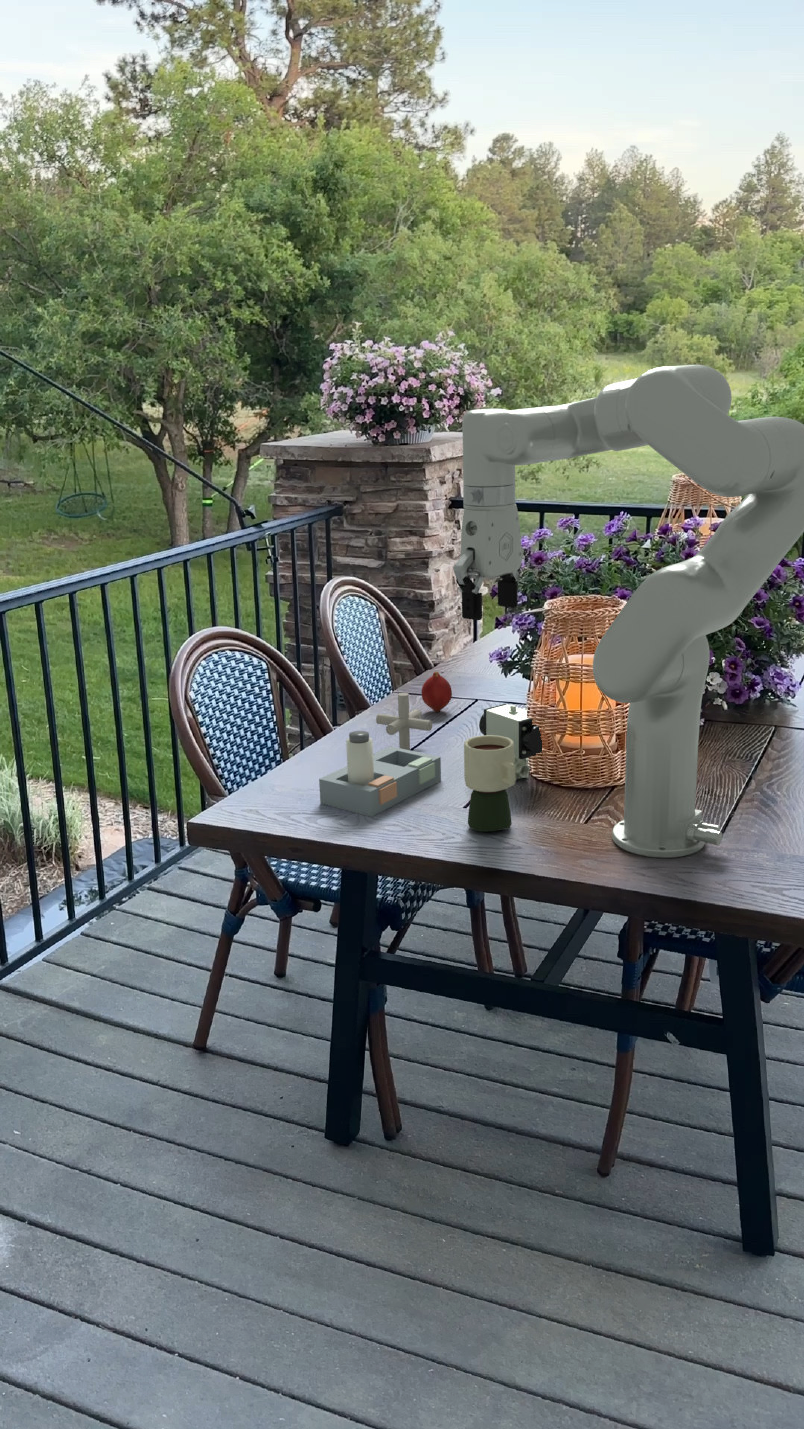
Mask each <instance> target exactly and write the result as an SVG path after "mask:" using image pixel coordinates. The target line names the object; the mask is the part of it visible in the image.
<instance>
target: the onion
mask: <svg viewBox="0 0 804 1429" xmlns="http://www.w3.org/2000/svg"><path fill="white" fill-rule="evenodd" d="M452 696H453V692H452V686H451V684H450V682H449V681H448V680H447V679H446V678H445V677H443V676H442V675H441V674H440V672H439V671H434V672H433V673H432V676H429V677H428V678H427V679H426V680H425V681H424V683H423V684H422V687H421V699H422V701H423V703H424V704H425V705H426V706H427V707H428V708H430V709H431V710H432V711H434V712H435V713H439V712H441V711H442V710H443V709H444V708H446V707H447V706H448V705H449V703H450V702H451V700H452V698H453V697H452Z"/></svg>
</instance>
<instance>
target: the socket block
mask: <svg viewBox="0 0 804 1429" xmlns="http://www.w3.org/2000/svg"><path fill="white" fill-rule="evenodd" d="M441 758H442V757H441V756H439V755H438V756H437V755H432V754H428V753H424V752H419V751H414V750H411V749H410V750H406V749H401V748H399V747H396V746H391V745H390V746H388V747H386V748H384V749H382V750H379V751H377V752H376V753H373V763H374V781H372V782H369V783H368V785H366V786H360V785H356V784H352V783H348V770H347V765H346V766H344V767H341V768H340V769H337V770H336V771H334V772H331V773H329V774H327V775H324V776H322V777H319V779H318V782H319V784H318V785H319V786H318V787H319V799H320V800H319V801H320V804H322V805H326V806H329V807H333V808H337V809H340V810H344V811H348V812H352V813H355V814H360V815H363V816H367V817H371V818H372V817H374V816H376V815H378V814H380V813H382V812H384V811H385V810H387V809H389V808H392V807H393V806H395V805H397V804H399V803H400V802H403V801H405V800H406V799H409V798H411V797H412V796H414V795H416V794H418V793H420V792H422V791H424V790H426V789H427V788H430V787H431V786H433V785H435V784H437V783H439V782H441V781H442V770H441V769H442V767H441V766H442V765H441V764H442V763H441V762H442V761H441Z"/></svg>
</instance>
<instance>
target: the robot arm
mask: <svg viewBox="0 0 804 1429" xmlns="http://www.w3.org/2000/svg"><path fill="white" fill-rule="evenodd" d="M732 399H733V396H732V390H731V387H730V384H729V382H728V381H727V379H726V377H725V376H724V375H723V374H722V373H721V372H720V371H719V370H717V369H716V368H713V367H710V366H708V365H702V364H685V365H683V364H682V365H668V366H659V367H654V368H652V369H649V370H647V371H646V372H644V373H642V374H641V375H640V376H638V377H637V378H634V379H633V378H632V379H627V380H623V381H619V382H613V383H611V384H608V385H606V386H604V387H603V388H602V389H601V390H600V392H599V393H598V395H597V396H595V397H592V398H587V399H584V400H579V401H575V402H570V403H565V404H560V405H559V404H558V405H549V406H538V407H537V406H536V407H527V408H519V409H511V410H509V409H506V408H505V409H504V408H478V409H471V410H468V411H467V412H465V413H464V415H463V418H462V424H461V425H462V427H461V429H462V430H461V432H462V476H463V477H462V478H463V479H462V481H463V485H462V486H463V488H462V491H463V492H462V494H463V500H462V501H463V508H464V509H463V514H462V522H461V531H460V532H461V535H460V557H459V559H458V560H457V561H456V563H454V565H453V568H452V569H453V572H454V576H455V579H456V580H455V582H456V585H458V590H459V592H460V593H461V617H462V619H466V620H471V621H472V620H473V621H481V620H482V619H483V593H482V592H480V591H481V587H482V584H483V583H484V579H485V578H486V579H495V578H498V577H499V578H500V579H497V605H498V606H499V607H504V608H517V607H518V601H519V600H518V599H519V598H518V596H519V595H518V592H519V591H518V582H519V580H520V577H521V576H520V570H521V568H522V564H523V562H522V561H523V556H524V552H525V550H524V547H522V537H521V535H522V534H521V526H520V525H521V524H520V517H519V511H518V507H517V506H518V505H517V504H516V466H527V465H533V464H535V465H536V464H539V463H544V462H545V463H547V462H555V461H561V460H562V461H563V460H567V459H568V460H569V459H572V458H576V457H577V458H578V457H582V456H588V455H592V454H593V455H594V454H597V453H602V452H608V451H614V452H620V451H626V450H630V449H636V448H641V447H646V446H650V448H652V450H654V451H655V452H656V453H658V454H659V455H660V456H661V457H662V458H664V459H665V460H667V462H669V463H670V464H671V465H673V466H674V467H675V468H677V470H679V471H680V472H681V473H683V474H684V475H685V476H687V477H688V478H689V479H690V480H692V481H693V482H694V483H695V484H697V485H698V486H700V487H701V488H702V489H704V490H706V491H708V492H709V493H711V494H714V495H716V496H720V497H724V498H739V497H744V496H745V497H744V498H743V500H741V501H740V502H739V504H738V505H737V506H736V507H735V508H733V509H732V511H731V512H729V513H728V514H727V515H726V516H725V518H724V519H723V520H722V521H721V523H720V524H719V525H718V528H717V529H716V530H715V532H714V533H713V535H712V536H710V538H709V539H708V541H707V542H706V543H705V545H704V546H703V547H702V548H701V549H700V550H699V551H698V552H697V553H696V554H695V555H694V556H693V557H690V558H688V559H686V560H683V561H680V562H678V563H673V564H669V565H667V566H664V567H661V568H660V569H657V570H656V571H654V572H653V573H651V574H650V575H649V576H647V577H646V578H645V580H644V581H642V583H641V584H640V585H639V586H638V587H637V588H636V590H635V591H634V592H633V593H632V595H631V596H630V598H629V599H628V600H627V601H626V603H625V604H624V606H623V607H622V609H621V610H620V612H619V613H618V614H617V615H616V617H615V619H613V620H614V621H613V622H612V623H611V624H610V626H609V627H608V628H607V630H606V631H605V633H604V634H603V636H601V639H600V641H599V642H598V644H597V646H596V648H595V651H594V655H593V661H592V674H593V678H594V681H595V683H596V685H597V687H598V689H599V690H600V692H602V694H603V695H605V697H608V699H610V700H613V701H615V702H617V703H621V704H629V706H628V711H627V719H626V737H625V738H626V741H625V742H626V743H625V747H626V748H625V771H624V772H625V773H624V774H625V776H624V778H625V780H624V781H625V782H624V810H623V811H624V812H623V820H621V821H619V822H618V823H615V825H614V826H613V827H612V833H611V834H612V835H611V836H612V840H613V842H614V844H616V845H617V846H618V847H620V848H621V849H622V850H624V851H626V852H629V853H632V854H636V855H639V856H644V857H651V858H662V859H663V858H664V859H665V858H667V859H668V858H678V857H685V856H688V855H692V854H694V853H697V852H698V851H700V850H701V849H702V848H703V847H704V846H705V844H708V845H714V846H720V845H721V843H722V840H723V833H722V831H721V826H720V825H718V824H713V823H709V822H708V823H707V822H705V820H703V818H702V817H703V811H702V810H700V809H696V800H697V798H696V795H697V778H698V775H697V774H698V756H699V755H698V754H699V736H700V720H701V709H702V708H701V707H702V700H703V694H704V689H705V684H706V680H707V675H708V671H709V666H710V658H711V657H710V654H711V653H710V645H709V641H708V638H707V635H709V634H712V633H715V632H718V631H719V630H721V629H722V630H723V629H724V628H726V627H728V626H729V625H731V624H733V622H734V621H735V620H736V619H737V618H738V617H739V616H740V614H741V613H742V612H743V611H744V609H745V608H746V607H747V606H748V604H749V603H750V601H751V600H752V599H753V597H754V596H755V595H756V594H757V593H758V591H759V590H760V589H761V588H762V586H763V585H764V584H765V582H766V581H767V580H768V579H769V577H770V576H771V575H772V574H773V572H774V570H775V569H776V568H777V566H778V565H780V563H781V562H782V560H783V559H784V558H785V556H786V555H787V554H788V553H789V551H790V550H791V549H792V547H793V546H794V545H795V544H796V542H797V541H798V540H799V538H800V537H801V536H803V533H804V424H803V423H802V422H800V421H798V420H796V419H794V418H793V419H792V418H789V417H785V416H784V417H783V416H765V417H757V418H750V419H742V420H736V419H735V418H733V417H732V416H730V415H729V412H730V410H731V405H732ZM472 579H474V582H473V580H472Z"/></svg>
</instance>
